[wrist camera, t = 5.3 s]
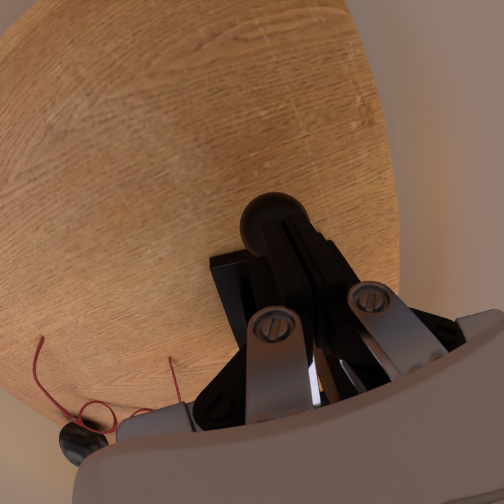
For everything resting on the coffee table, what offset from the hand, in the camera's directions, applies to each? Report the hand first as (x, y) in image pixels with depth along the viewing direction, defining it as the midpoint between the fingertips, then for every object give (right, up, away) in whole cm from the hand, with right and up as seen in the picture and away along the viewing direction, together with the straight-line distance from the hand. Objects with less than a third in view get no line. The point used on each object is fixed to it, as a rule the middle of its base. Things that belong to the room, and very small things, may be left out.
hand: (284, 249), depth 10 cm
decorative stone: (-32, -32, +25) cm, 52 cm away
